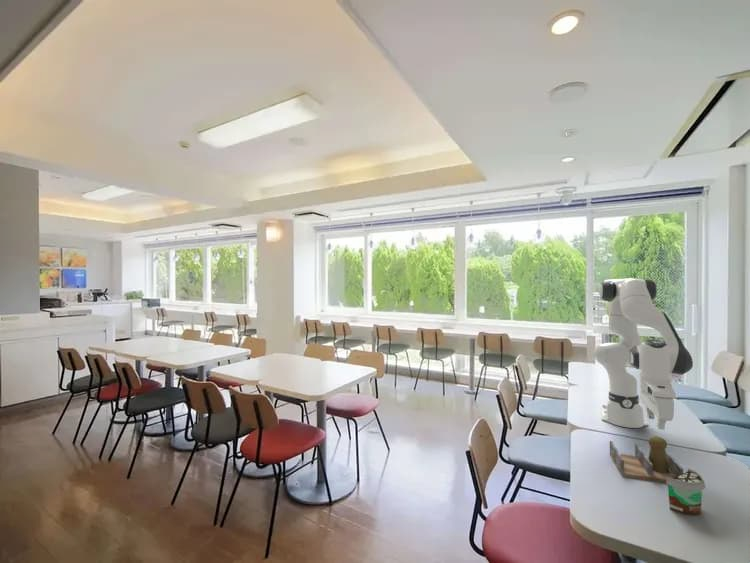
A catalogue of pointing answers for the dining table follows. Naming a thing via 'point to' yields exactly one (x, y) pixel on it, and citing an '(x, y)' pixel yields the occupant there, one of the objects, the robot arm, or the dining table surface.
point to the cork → (658, 454)
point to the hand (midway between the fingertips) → (655, 423)
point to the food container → (686, 492)
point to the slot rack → (642, 465)
